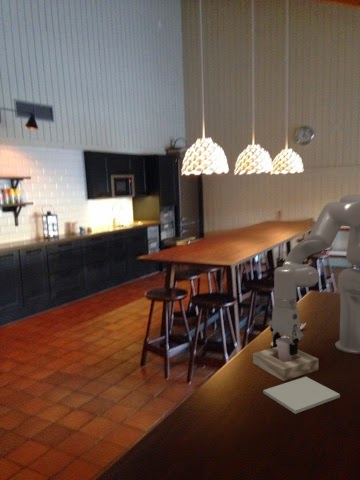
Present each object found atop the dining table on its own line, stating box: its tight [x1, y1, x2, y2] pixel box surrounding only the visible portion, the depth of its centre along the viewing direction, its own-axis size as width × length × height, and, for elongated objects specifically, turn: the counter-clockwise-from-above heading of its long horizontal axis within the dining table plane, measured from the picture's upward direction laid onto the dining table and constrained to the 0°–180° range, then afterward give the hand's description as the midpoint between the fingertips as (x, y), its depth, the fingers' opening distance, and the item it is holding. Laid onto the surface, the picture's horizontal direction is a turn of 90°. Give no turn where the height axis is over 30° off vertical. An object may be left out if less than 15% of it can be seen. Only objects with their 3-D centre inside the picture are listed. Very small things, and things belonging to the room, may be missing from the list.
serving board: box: [262, 376, 341, 415], centre depth 128 cm, size 18×14×1 cm
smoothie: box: [276, 336, 292, 362], centre depth 148 cm, size 6×6×14 cm
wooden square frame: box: [252, 347, 319, 381], centre depth 148 cm, size 16×16×4 cm
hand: (285, 350), depth 148 cm, fingers open, 7 cm apart
